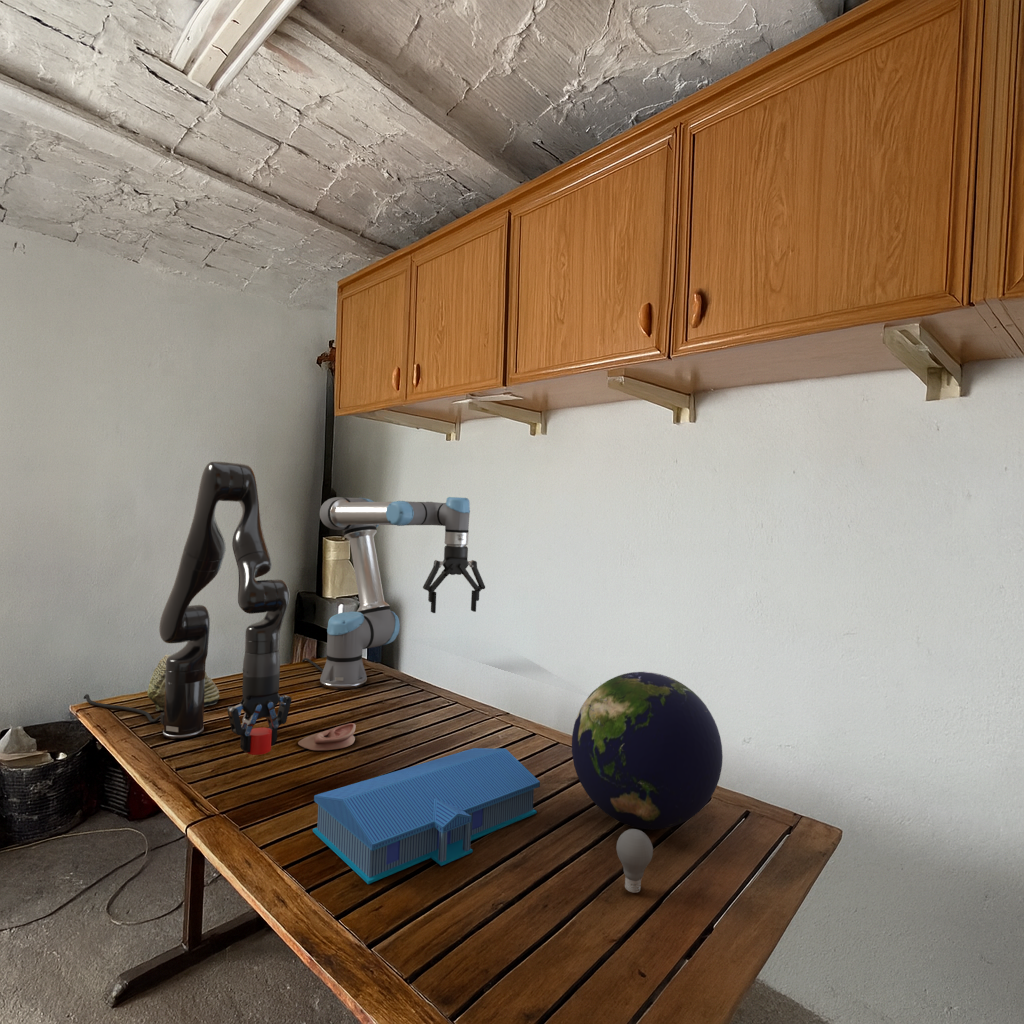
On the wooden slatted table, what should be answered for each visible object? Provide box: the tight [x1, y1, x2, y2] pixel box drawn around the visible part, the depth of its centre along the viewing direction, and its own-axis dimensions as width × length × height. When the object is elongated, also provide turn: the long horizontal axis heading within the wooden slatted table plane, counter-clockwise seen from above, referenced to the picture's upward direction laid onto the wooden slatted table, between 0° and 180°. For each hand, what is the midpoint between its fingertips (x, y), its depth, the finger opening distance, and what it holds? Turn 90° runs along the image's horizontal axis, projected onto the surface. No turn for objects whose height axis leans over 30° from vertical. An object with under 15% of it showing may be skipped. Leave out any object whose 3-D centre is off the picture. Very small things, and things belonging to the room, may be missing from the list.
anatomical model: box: [297, 722, 357, 751], centre depth 162 cm, size 13×4×12 cm
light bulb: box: [615, 828, 654, 894], centre depth 106 cm, size 6×6×10 cm
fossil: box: [147, 654, 221, 712], centre depth 185 cm, size 9×18×15 cm, turn 132°
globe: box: [571, 671, 724, 831], centre depth 129 cm, size 30×30×30 cm
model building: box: [312, 747, 541, 885], centre depth 124 cm, size 39×24×10 cm, turn 132°
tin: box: [247, 726, 272, 756], centre depth 139 cm, size 5×5×4 cm
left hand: (258, 747), depth 139 cm, fingers closed on tin, 5 cm apart
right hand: (453, 611), depth 203 cm, fingers open, 13 cm apart
